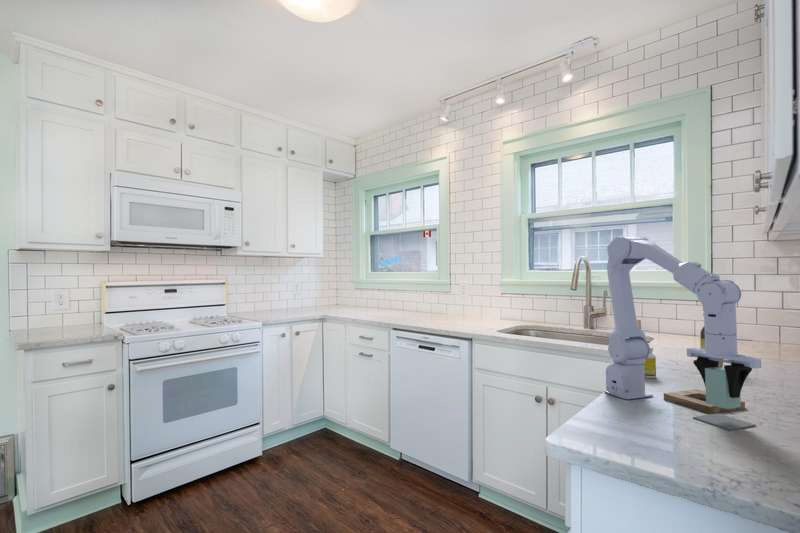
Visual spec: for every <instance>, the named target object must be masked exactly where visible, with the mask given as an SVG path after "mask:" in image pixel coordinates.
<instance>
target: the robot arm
mask: <svg viewBox="0 0 800 533" xmlns="http://www.w3.org/2000/svg"><path fill="white" fill-rule="evenodd" d="M606 249H607V258H608V259H607V264H606V270H607V272H606V273H607V279H608V285H609V292H610V299H611V306H612V312H613V313H612V315H613V319H614V327H615V328H614V329H613V330H612V332H610V333H609V335H608V338H609V342H608V346H607V351H608V355H609V356H610V358H611V359H612V363H610V364H609V365H608V366H607V367H606V369H605V389H603V392H604V393H606V391H608V392H609V393H608V394H609V395H612V396H615V397H617V398H621V399H623V400H634V399H641V398H649V397H650V398H651V397H654V394H652V393H649V392H647V391H646V382H645V381H646V380H645V373H644V363H645V362H646V358H648V356H649V355H650V346H651V345H650V344H649V342H648V340H647V339H646V334H645V332H644V331H643V330H642V329H640V328H639V327H638V322H637V316H636V315H637V314H636V309H635V302H634V296H633V295H634V294H633V290H632V289H633V288H632V283H631V276H630V272H631V270H633V268H634V267H636V266H637V265H638V264H640V263H641V262H642V261H644V260H648V261H651V262H652V263H653V264H656V265H658V266H659V267H661V268H663V269H664V270H666V271H668V272H670V273H672V275H673V276H672V277H673V280H674V281H675V282H676V283H678V284H679V285H681V286H682V287H684V288H686V289H687V290H689V291H690V292H691V293H693V294H695V295H696V297H697V300H698V301H699V303H700V304H701V305H702V311H703V314H704V315H703V318H704V319H703V323H704V324H703V325H704V326H703V327H705V349H700V348H695V347H690V348H689V347H688V348H686V356H687V357H689V358H696V359H694V360H693V365H694V366H695V367H696V369H697V370H698V372H699V374H700V376H701V378H702V381H703V383H704V388H706V385H705V368H710V367H718V364H719V362H723V363H726V365H724V364H723V368H724V369H725V371H726V374H727V378H728V386H729V395H730V397H731V398H738V397H741V391H742V389H743V386H744V384H745V381H746V379H747V378H748V376H749V375H750V373H751V372H752V371H753V369H755V370H757V369H761V368H762V358H759V357H753V356H752V357H751V356H748V355H744V354H741V353H739V352H738V332H737V330H738V328H737V327H738V326H737V306H736V304H737V303H738V302H739V301H740V300H741V297H742V290H741V288H740V287H739V285H738V284H736V282H734V281H733V280H730V279H721V278H720V275H718V274H717V273H716V274H715V273H714V274H713V273H711V272H709V271H708V270H706V269H704V268H702V266H703V265H702V264H701V263H699V262H697V261H696V262H695V261H694V262H692V261H686V262H683V261H682V260H679V259H678V258H677V257H675V256H673V255H672V254H670V253H669V252H668V251H666V250H665V249H663V248H662V247H660V246H659V245H657V243H656V242H655V241H652V240H650V239H649V238H647V237H644V236H639V237H630V236H621V235H619V236H616V237H614V238H613V239H612V240H611V241H610V243H609V244H608V245H607V247H606ZM717 358H718V359H717Z"/></svg>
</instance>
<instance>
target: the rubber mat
mask: <svg viewBox="0 0 800 533" xmlns="http://www.w3.org/2000/svg"><path fill="white" fill-rule="evenodd" d="M692 419H694V420H697V421H700V422H703V423H706V424H709V425H712V426H714V427H715V426H716V427H718V428H721V429H724V430H728V431H735V430H741V429H747V428H752V427H754V428H755V427H757V424H755V423H752V422H748V421H745V420H742V419H738V418H735V417H733V416H728V415H725V414H722V413H720V412H717V413H708V414H704V415H697V416H693V417H692Z"/></svg>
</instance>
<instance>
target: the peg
mask: <svg viewBox="0 0 800 533" xmlns="http://www.w3.org/2000/svg"><path fill="white" fill-rule="evenodd" d="M705 385H706V387H705V391H706V401H705V402H706V403H707V404H711V405H714V406H718V407H721V408H725V409H731V408H737V407H741V401H742V400H741V397H742V396H740V397H738V398H731V397H730V395H729V386H728V378H727V374H726V371H725V369H724V366H722V367H710V368H705V384H704V386H705Z"/></svg>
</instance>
